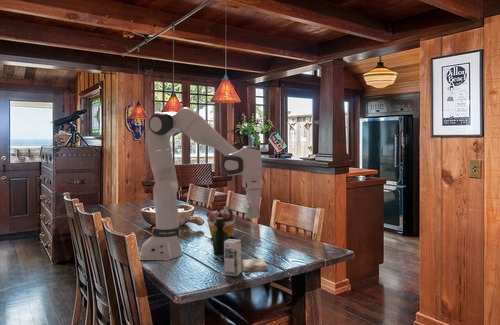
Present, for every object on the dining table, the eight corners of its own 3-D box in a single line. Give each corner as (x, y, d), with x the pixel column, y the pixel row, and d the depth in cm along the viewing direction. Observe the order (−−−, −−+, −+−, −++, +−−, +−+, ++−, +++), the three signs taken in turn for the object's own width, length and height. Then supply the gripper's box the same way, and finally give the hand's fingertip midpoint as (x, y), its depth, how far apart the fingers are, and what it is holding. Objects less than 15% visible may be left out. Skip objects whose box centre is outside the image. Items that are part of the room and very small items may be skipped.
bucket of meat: (242, 237, 229) (241, 203, 227) (217, 242, 220) (216, 207, 218) (224, 231, 245) (223, 199, 244) (200, 235, 236) (199, 202, 235)
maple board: (244, 271, 171) (244, 266, 171) (241, 264, 181) (241, 259, 181) (266, 269, 172) (266, 265, 172) (263, 262, 182) (263, 258, 182)
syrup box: (224, 275, 167) (223, 241, 166) (229, 270, 172) (229, 238, 171) (236, 276, 164) (235, 242, 164) (241, 272, 170) (241, 239, 169)
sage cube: (248, 218, 172) (247, 207, 172) (246, 216, 177) (246, 205, 177) (259, 218, 173) (259, 206, 172) (257, 215, 178) (257, 204, 177)
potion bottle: (227, 250, 203) (226, 216, 202) (229, 255, 195) (228, 219, 194) (211, 251, 202) (210, 217, 201) (213, 256, 194) (212, 220, 193)
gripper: (242, 180, 184) (243, 209, 185) (247, 185, 164) (248, 218, 165) (256, 179, 185) (256, 209, 186) (262, 184, 164) (263, 217, 165)
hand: (252, 213), depth 175 cm, fingers closed on sage cube, 5 cm apart
